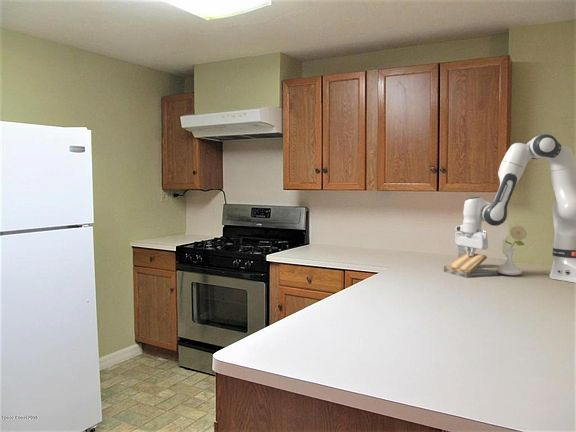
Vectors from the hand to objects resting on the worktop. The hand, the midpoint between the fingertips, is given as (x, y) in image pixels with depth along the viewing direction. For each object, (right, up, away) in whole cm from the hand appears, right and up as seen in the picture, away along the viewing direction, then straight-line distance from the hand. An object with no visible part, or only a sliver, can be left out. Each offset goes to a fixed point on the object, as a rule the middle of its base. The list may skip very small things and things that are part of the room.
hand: (470, 256), depth 240 cm
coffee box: (+6, -8, +21) cm, 23 cm away
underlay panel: (0, -9, 0) cm, 9 cm away
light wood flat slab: (-1, -3, 0) cm, 4 cm away
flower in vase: (+19, -9, -3) cm, 22 cm away
